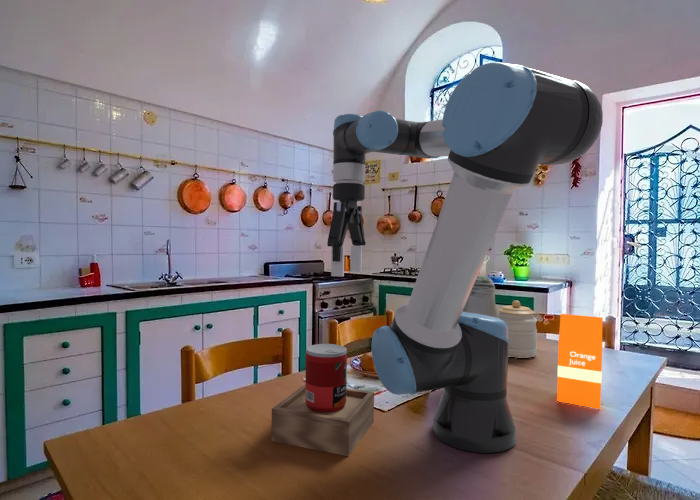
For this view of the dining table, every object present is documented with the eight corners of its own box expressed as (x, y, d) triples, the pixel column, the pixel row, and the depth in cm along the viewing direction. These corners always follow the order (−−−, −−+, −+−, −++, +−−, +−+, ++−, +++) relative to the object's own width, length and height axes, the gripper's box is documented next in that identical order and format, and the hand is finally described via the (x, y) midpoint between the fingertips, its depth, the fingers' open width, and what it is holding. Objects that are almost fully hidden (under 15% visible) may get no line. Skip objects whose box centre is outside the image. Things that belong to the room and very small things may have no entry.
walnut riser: (373, 421, 87) (374, 392, 87) (348, 456, 73) (349, 421, 73) (306, 410, 92) (307, 382, 92) (271, 441, 78) (271, 408, 78)
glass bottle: (475, 394, 103) (477, 278, 102) (448, 381, 112) (450, 275, 111) (506, 389, 107) (509, 277, 106) (478, 376, 116) (480, 274, 116)
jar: (490, 348, 147) (491, 297, 147) (530, 349, 146) (531, 298, 145) (498, 358, 135) (499, 302, 134) (541, 360, 133) (543, 304, 132)
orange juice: (559, 391, 106) (561, 311, 105) (600, 399, 101) (603, 315, 101) (556, 402, 99) (559, 316, 98) (600, 410, 94) (603, 320, 94)
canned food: (341, 415, 78) (342, 355, 78) (299, 411, 79) (300, 352, 79) (350, 399, 85) (350, 344, 85) (311, 396, 87) (312, 342, 87)
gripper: (350, 189, 113) (348, 269, 114) (313, 176, 90) (311, 277, 90) (377, 188, 111) (376, 270, 112) (347, 176, 87) (345, 279, 88)
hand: (347, 273), depth 101 cm, fingers open, 13 cm apart
